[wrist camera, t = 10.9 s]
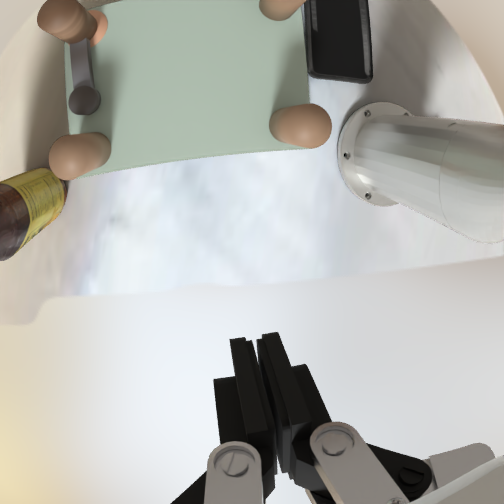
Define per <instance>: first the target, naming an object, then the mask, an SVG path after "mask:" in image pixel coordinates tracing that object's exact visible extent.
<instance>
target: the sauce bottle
mask: <svg viewBox="0 0 504 504" xmlns="http://www.w3.org/2000/svg"><path fill="white" fill-rule="evenodd" d="M66 197H67V191H66V187H65V184H64V181H63V180H62V179H60V178H58V177H57V176H56V175H55V174H54V173H53V172H52V170H51V169H48V168H38V169H33V170H30V171H27V172H24V173H22V174H19V175H16V176H14V177H11V178H9V179H6V180H4V181H1V182H0V261H4V260H7V259H9V258H10V257H12V256H13V255H14V254H15V253H16V252H18V251H19V250H20V249H21V248H22V247H23V246H24V245H25V244H26V243H27V242H29V241H30V240H31V239H32V238H33V237H34V236H35V235H37V234H38V233H39V232H40V231H41V230H43V229H44V228H45V227H46V226H47V225H49V224H50V223H51V222H52V221H53V220H55V219H56V218H57V217H58V215H59V214H60V213H61V211H62V209H63V207H64V205H65V201H66Z"/></svg>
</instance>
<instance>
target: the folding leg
mask: <svg viewBox="0 0 504 504" xmlns="http://www.w3.org/2000/svg"><path fill="white" fill-rule="evenodd" d="M37 23H38V26H39V27H40V28H41V29H42V30H44V31H46V32H48V33H50V34H52V35H53V36H55V37H57V38H59V39H61V40H62V41H64V42H66V43H68V44H69V45H70V59H71V70H72V80H73V89H74V90H73V92H72V93H71V94H70V97H69V101H68V105H69V108H70V110H71V111H72V112H73V113H74V114H76V115H90V114H93V113H94V112H95V111H96V110H97V109H98V108H99V106H100V103H101V95H100V93H99V91H98V90H96V89H95V85H94V77H93V68H92V58H91V47H90V40H91V39H92V38H93V36H94V35H95V33H96V31H97V21H96V19H95V18H94V17H93V16H92V15H91V14H90V13H89V12H88V11H87V10H86V9H85V8H84V7H83V6H82V5H81V4H80V3H79V2H78V1H77V0H47V1H46V2H45V3H44V4H43V6H42V7H41V9H40V10H39V13H38V16H37Z"/></svg>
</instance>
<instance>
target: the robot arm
mask: <svg viewBox="0 0 504 504" xmlns="http://www.w3.org/2000/svg"><path fill="white" fill-rule="evenodd" d="M364 112H365V115H364ZM344 153H345V154H346V155H345V157H344ZM337 158H338V164H339V169H340V172H341V175H342V178H343V180H344V181H345V183H346V185H347V187H348V188H349V189H350V190H351V191H352V193H353V194H355V195H356V196H357V197H358V198H359V199H361V200H363V201H365V202H366V203H369V204H372V205H374V206H381V207H386V206H393V205H396V204H399V203H400V204H402V205H404V206H406V207H408V208H410V209H412V210H414V211H416V212H418V213H420V214H422V215H424V216H426V217H428V218H430V219H432V220H434V221H436V222H438V223H440V224H442V225H444V226H446V227H448V228H450V229H451V230H453V231H455V232H457V233H459V234H461V235H463V236H465V237H467V238H469V239H471V240H473V241H476V242H479V243H486V244H492V243H498V242H501V241H504V125H501V124H494V123H486V122H478V121H470V120H460V119H450V118H438V117H424V116H413V115H412V114H411V113H410V112H409V111H408V110H406V109H405V108H403V107H401V106H399V105H397V104H394V103H389V102H376V103H370V104H368V105H365V106H363V107H361V108H360V109H358V110H357V111H355V112H354V113H353V114H352V115H351V116H350V118H349V119H348V120H347V122H346V123H345V125H344V127H343V129H342V132H341V134H340V137H339V142H338V156H337ZM365 194H366V196H365ZM230 346H231V353H232V359H233V366H234V372H235V376H233V377H226V378H218V379H214V391H215V401H216V410H217V418H218V428H219V436H220V444H221V445H219V446H218V447H217V448H215V449H214V450H213V451H212V453H211V454H210V456H209V459H208V464H207V471H206V472H205V473H204V474H203V475H202V476H201V477H199V478H198V479H197V480H196V481H195V482H194V483H193V484H192V485H191V486H190V487H189V488H187V489H186V490H185V491H184V492H183V493H182V494H181V495H180V496H179V497H178V498H176V499H175V500H174V501H173V502H172V503H171V504H266V498H267V497H268V496H269V495H270V494H271V492H272V491H273V490H274V488H275V478H274V475H276V474H277V457H278V461H279V464H280V468H281V471H282V473H286V472H288V474H289V478H290V479H294V482H295V484H296V485H298V486H301V487H303V488H305V491H306V493H307V495H308V497H309V499H310V501H311V503H312V504H504V455H503V456H500V457H497V458H495V456H494V453H493V451H492V450H491V448H490V447H488V446H487V445H485V444H482V443H475V444H471V445H468V446H465V447H462V448H459V449H455V450H452V451H448V452H444V453H440V454H436V455H432V456H429V458H428V459H425V460H420V459H417V458H414V457H410V456H407V455H403V454H400V453H396V452H393V451H390V450H386V449H383V448H380V447H377V446H374V445H371V444H368V443H365V441H364V440H363V439H362V437H361V436H360V435H359V433H358V432H357V431H356V430H355V429H354V428H353V427H352V426H350V425H348V424H346V423H342V422H332V420H331V418H330V416H329V414H328V411H327V409H326V407H325V405H324V403H323V400H322V398H321V396H320V393H319V391H318V389H317V387H316V384H315V382H314V380H313V378H312V376H311V373H310V371H309V369H308V367H307V365H306V364H302V365H297V366H292V367H291V364H290V362H289V359H288V356H287V354H286V351H285V349H284V346H283V344H282V341H281V338H280V336H279V333H278V332H274V333H268V334H262V339H257V353H258V361H257V357H256V353H255V350H254V346H253V343H252V340H250V341H246V338H245V337H242V338H235V339H230ZM258 364H259V365H258Z"/></svg>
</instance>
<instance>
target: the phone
mask: <svg viewBox="0 0 504 504" xmlns="http://www.w3.org/2000/svg"><path fill="white" fill-rule="evenodd" d="M304 14H305V35H306V62H307V72H308V74H309V75H310V76H311V77H313V78H316V79H325V80H335V81H343V82H351V83H359V84H366V83H369V82H370V81H371V80H372V78H373V63H372V43H371V29H370V17H369V6H368V0H306V1H305V2H304Z"/></svg>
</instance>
